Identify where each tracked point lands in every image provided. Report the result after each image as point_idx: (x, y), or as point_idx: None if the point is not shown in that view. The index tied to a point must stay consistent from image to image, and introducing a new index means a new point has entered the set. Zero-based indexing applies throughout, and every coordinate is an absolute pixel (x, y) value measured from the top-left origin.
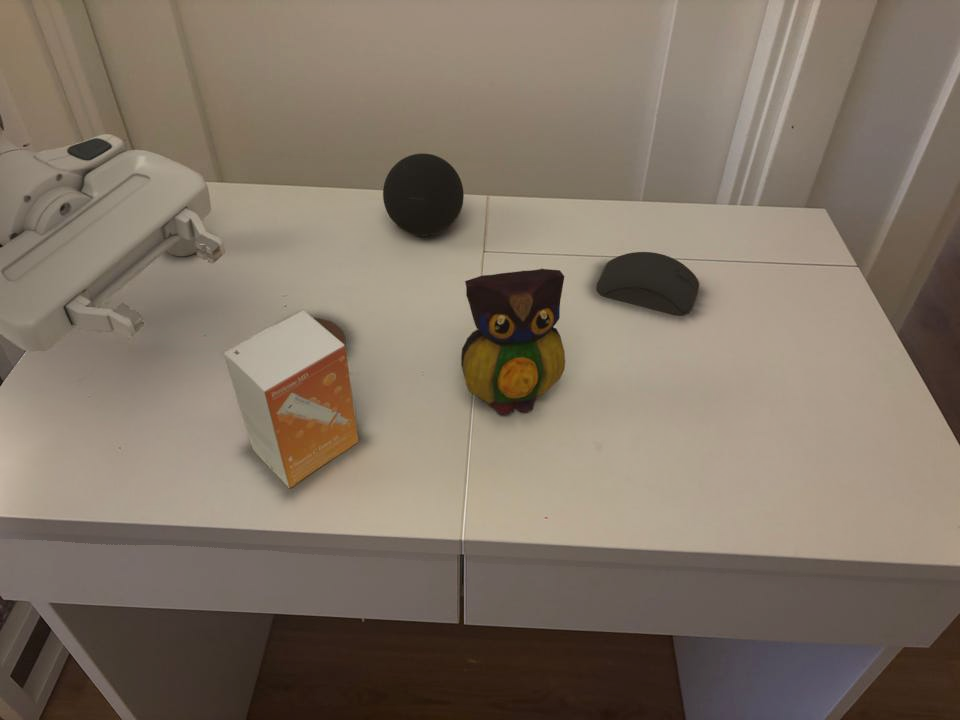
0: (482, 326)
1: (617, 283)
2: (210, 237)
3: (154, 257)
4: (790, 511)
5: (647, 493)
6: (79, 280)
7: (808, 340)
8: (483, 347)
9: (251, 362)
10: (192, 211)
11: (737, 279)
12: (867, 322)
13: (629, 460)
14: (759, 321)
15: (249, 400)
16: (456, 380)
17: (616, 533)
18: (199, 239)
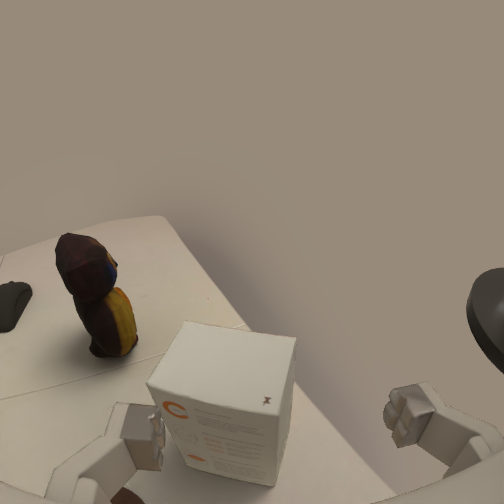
0: (112, 271)
1: (10, 310)
2: (120, 418)
3: None
4: (158, 240)
5: (169, 273)
6: (486, 465)
7: (51, 254)
8: (114, 298)
9: (269, 374)
10: (50, 482)
11: (6, 281)
12: (40, 244)
13: (149, 284)
14: (38, 269)
15: (287, 406)
16: (109, 381)
17: (201, 275)
18: (138, 433)
